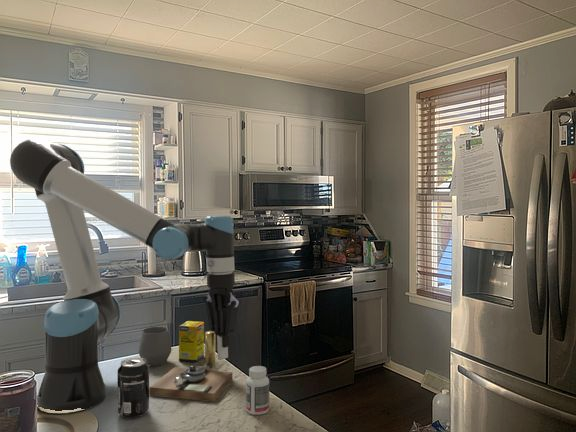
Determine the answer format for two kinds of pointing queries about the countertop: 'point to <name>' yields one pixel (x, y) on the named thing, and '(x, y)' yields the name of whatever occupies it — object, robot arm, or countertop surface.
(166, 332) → the cup
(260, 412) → the pill bottle
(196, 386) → the stand
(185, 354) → the supplement box
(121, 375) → the beverage can
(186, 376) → the crank handle
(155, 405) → the countertop surface
